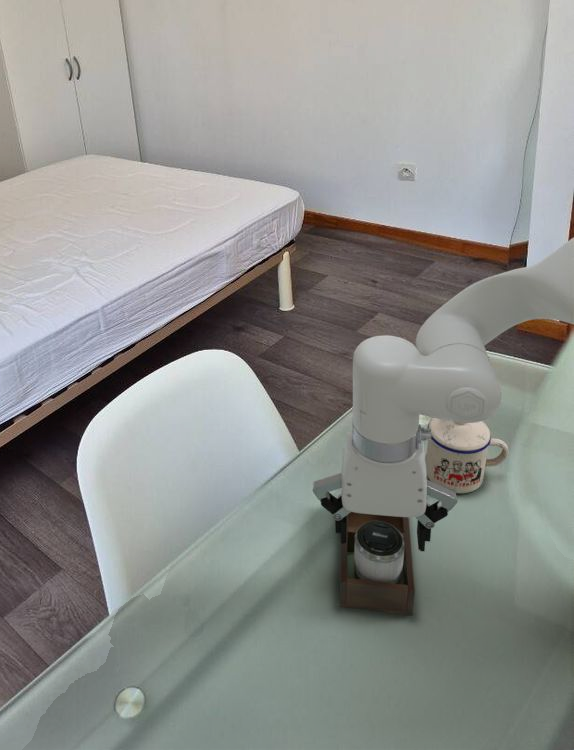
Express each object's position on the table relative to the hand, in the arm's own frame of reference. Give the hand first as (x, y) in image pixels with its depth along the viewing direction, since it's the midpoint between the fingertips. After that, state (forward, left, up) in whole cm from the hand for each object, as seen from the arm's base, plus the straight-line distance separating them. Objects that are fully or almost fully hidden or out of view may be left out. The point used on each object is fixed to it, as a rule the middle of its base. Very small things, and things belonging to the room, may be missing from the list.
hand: (381, 538), depth 89 cm
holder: (+1, -4, -8) cm, 9 cm away
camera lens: (0, 0, -7) cm, 7 cm away
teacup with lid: (-13, -22, -8) cm, 27 cm away
